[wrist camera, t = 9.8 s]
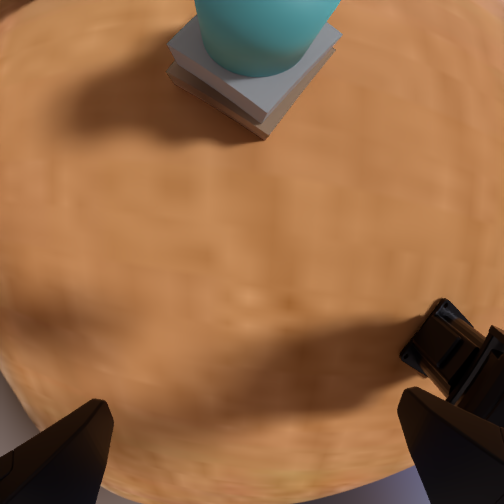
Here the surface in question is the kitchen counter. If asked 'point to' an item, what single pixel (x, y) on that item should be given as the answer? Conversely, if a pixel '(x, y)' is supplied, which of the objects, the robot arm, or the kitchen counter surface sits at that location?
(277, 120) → the tower base
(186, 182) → the kitchen counter surface
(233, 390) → the kitchen counter surface
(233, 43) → the teal domed cylinder
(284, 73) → the tower top
